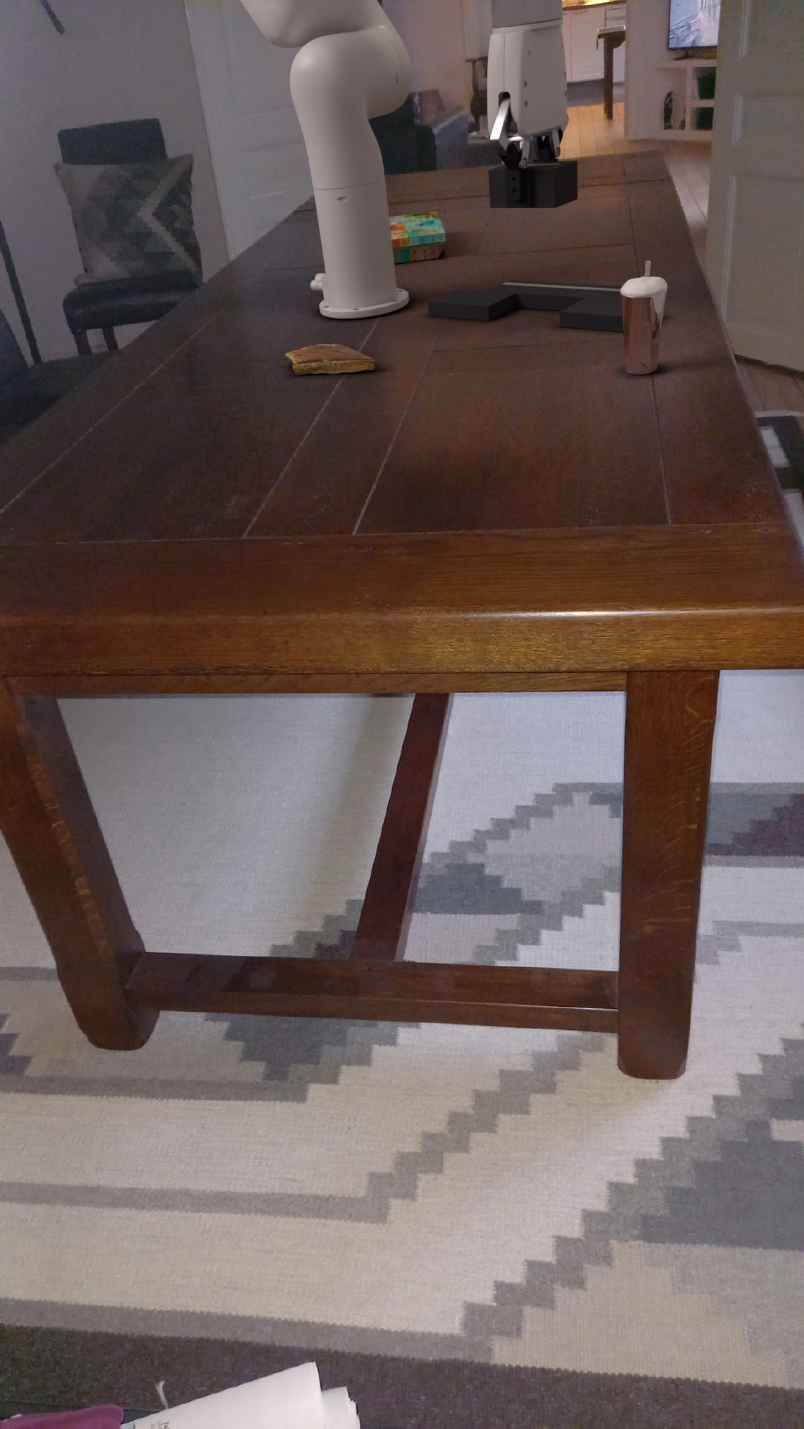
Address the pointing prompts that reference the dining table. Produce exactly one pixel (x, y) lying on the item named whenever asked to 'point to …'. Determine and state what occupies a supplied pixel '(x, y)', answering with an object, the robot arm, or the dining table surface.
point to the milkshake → (642, 321)
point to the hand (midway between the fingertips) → (533, 200)
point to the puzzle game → (417, 236)
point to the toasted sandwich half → (329, 359)
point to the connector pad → (539, 184)
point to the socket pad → (537, 303)
